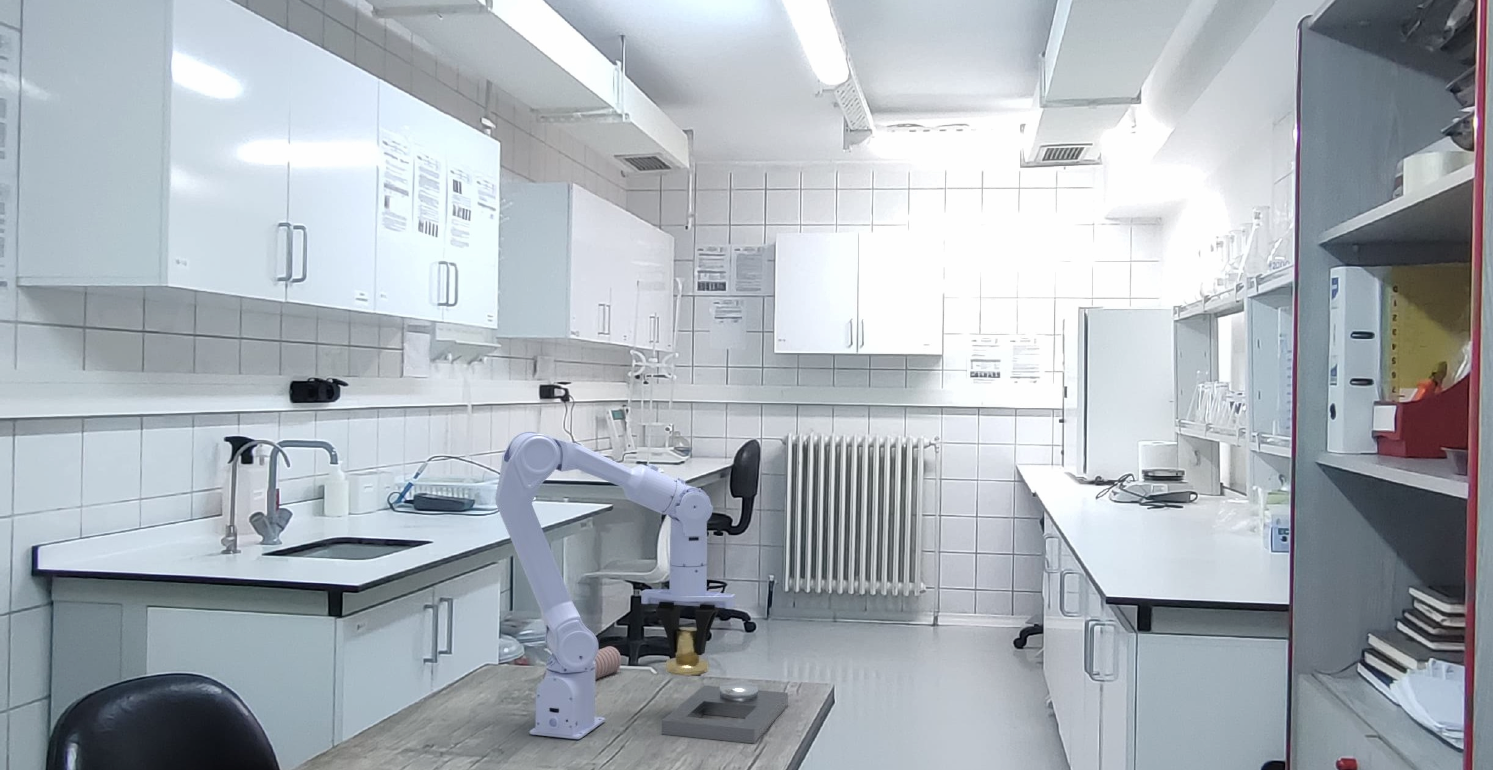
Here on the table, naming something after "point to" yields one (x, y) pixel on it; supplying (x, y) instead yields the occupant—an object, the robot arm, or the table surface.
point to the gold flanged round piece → (686, 654)
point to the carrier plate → (726, 712)
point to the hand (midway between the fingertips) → (687, 652)
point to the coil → (605, 662)
